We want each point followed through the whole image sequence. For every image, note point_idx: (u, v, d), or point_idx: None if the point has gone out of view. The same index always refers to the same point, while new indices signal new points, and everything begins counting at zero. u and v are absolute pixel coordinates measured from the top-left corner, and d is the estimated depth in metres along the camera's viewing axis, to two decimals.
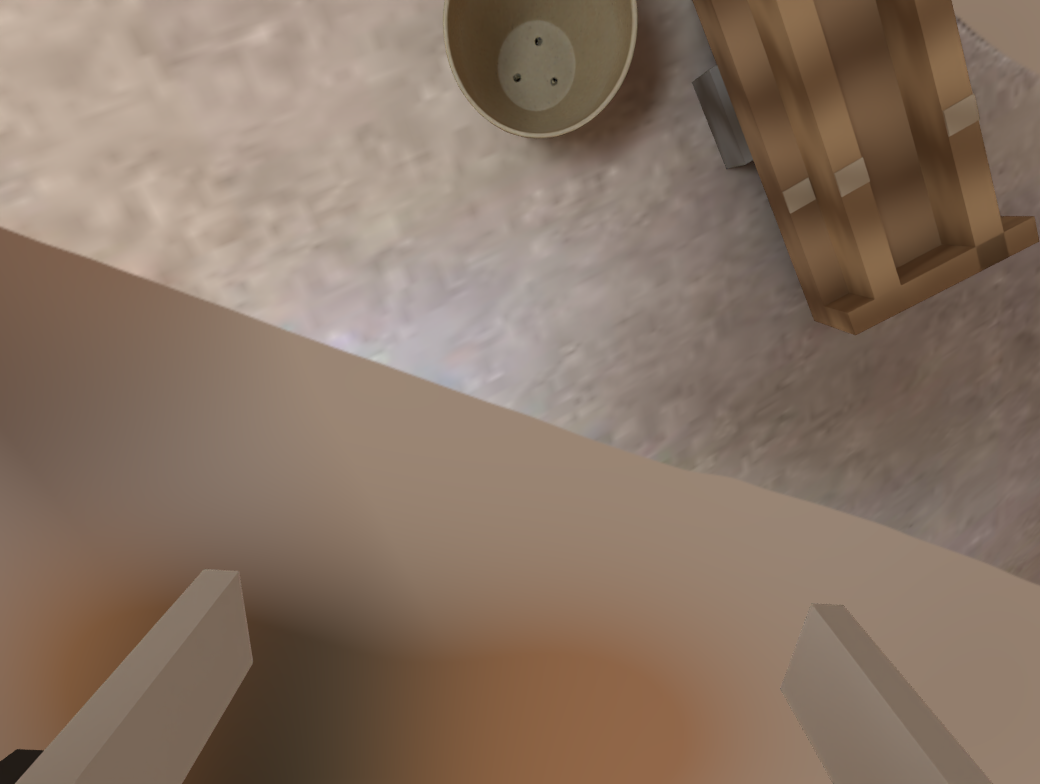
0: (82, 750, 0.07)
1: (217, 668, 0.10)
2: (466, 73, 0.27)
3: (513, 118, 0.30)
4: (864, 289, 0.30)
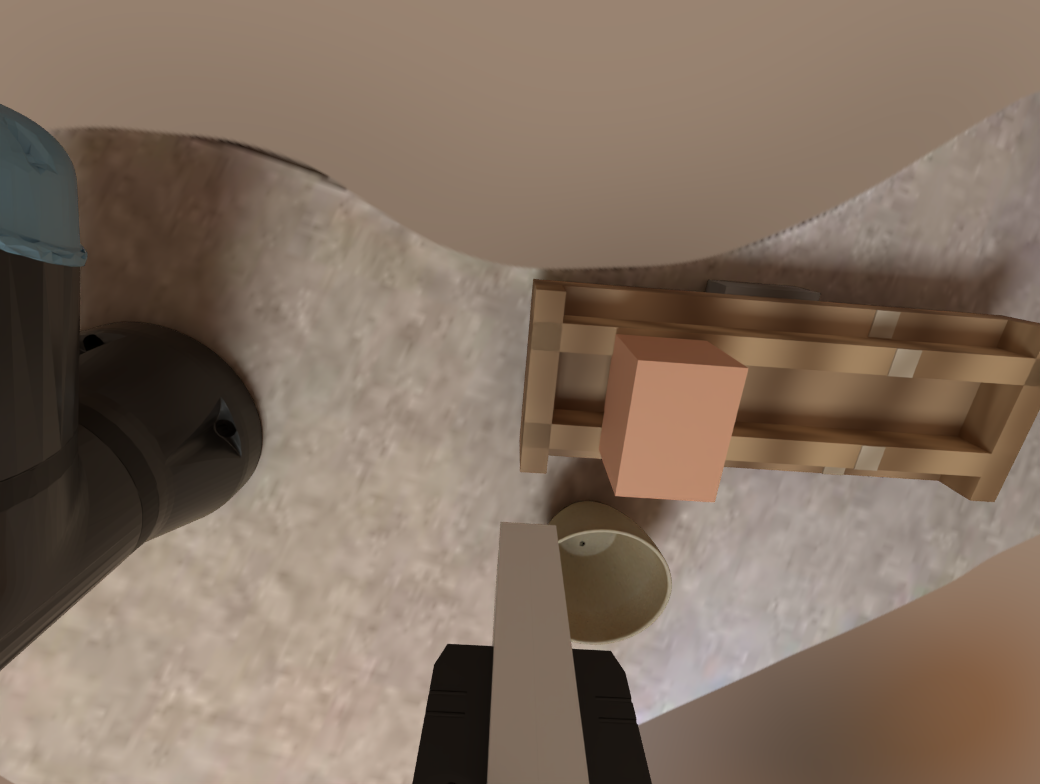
0: (520, 638, 0.09)
1: None
2: (574, 609, 0.37)
3: (610, 578, 0.38)
4: None
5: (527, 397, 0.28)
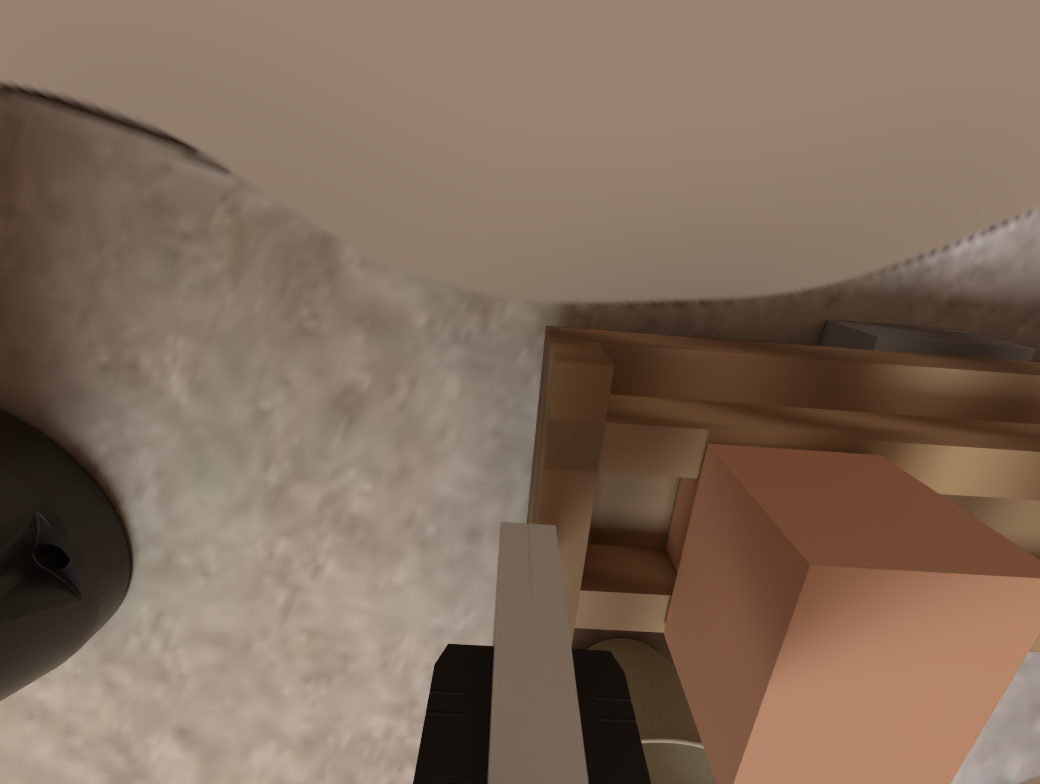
0: (520, 639, 0.09)
1: None
2: None
3: (656, 755, 0.26)
4: None
5: None
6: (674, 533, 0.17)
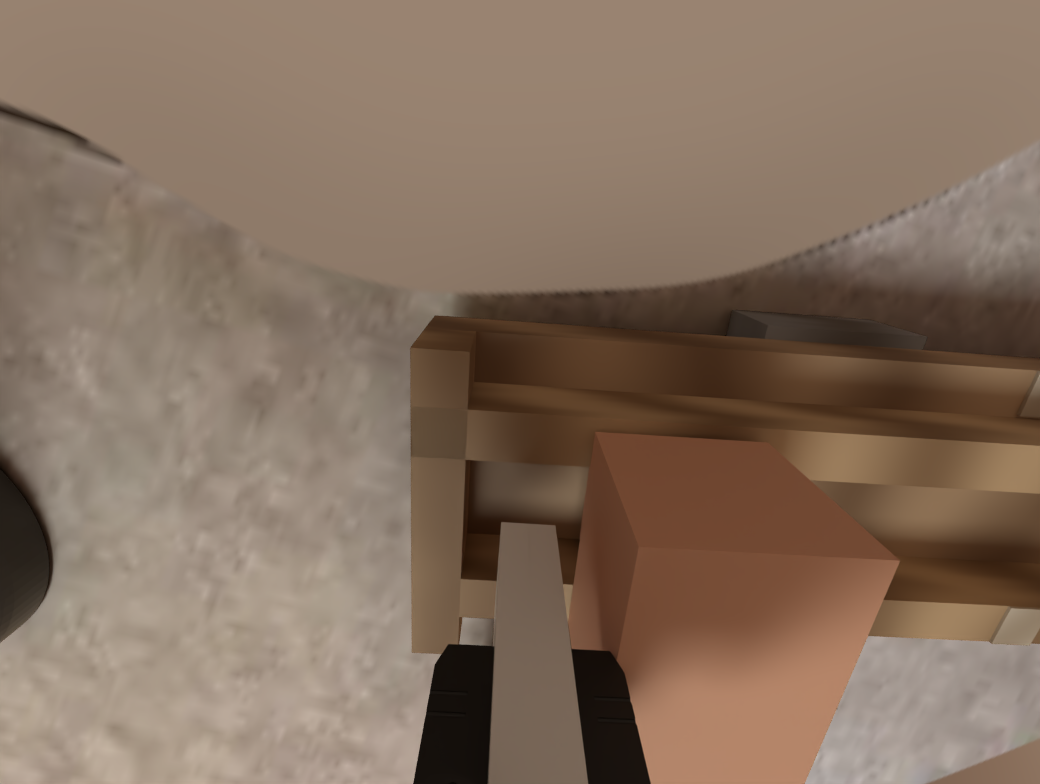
0: (520, 639, 0.09)
1: None
2: None
3: None
4: None
5: (413, 536, 0.15)
6: None
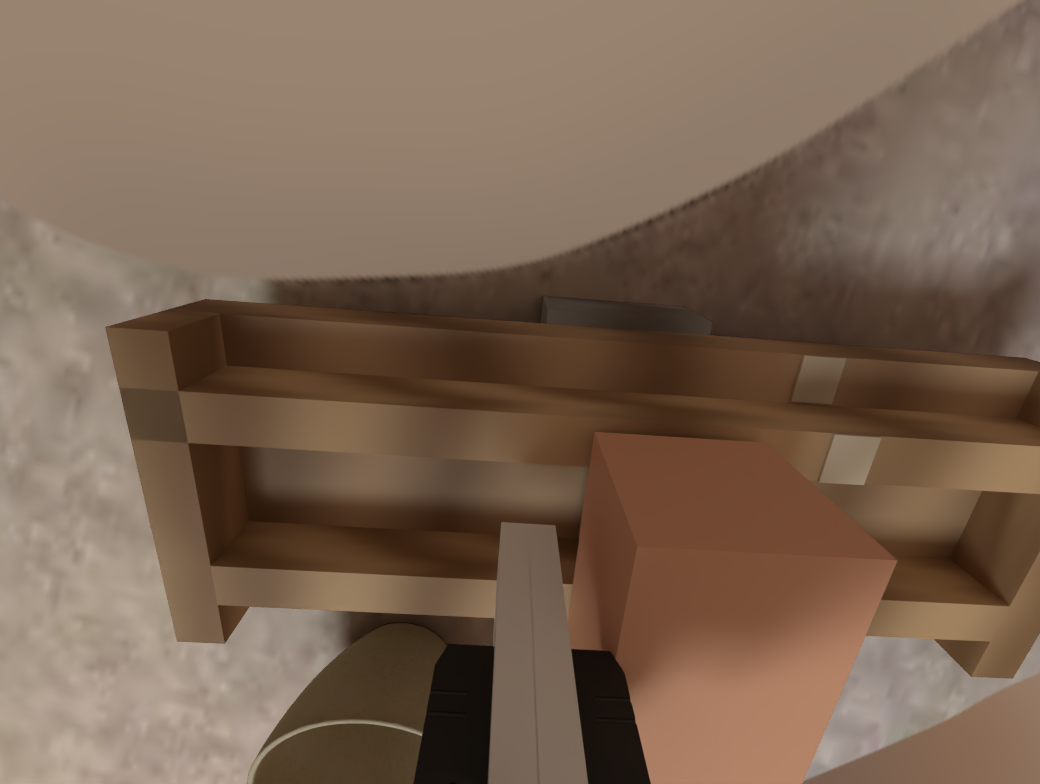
0: (520, 639, 0.09)
1: None
2: None
3: None
4: None
5: (153, 521, 0.15)
6: None
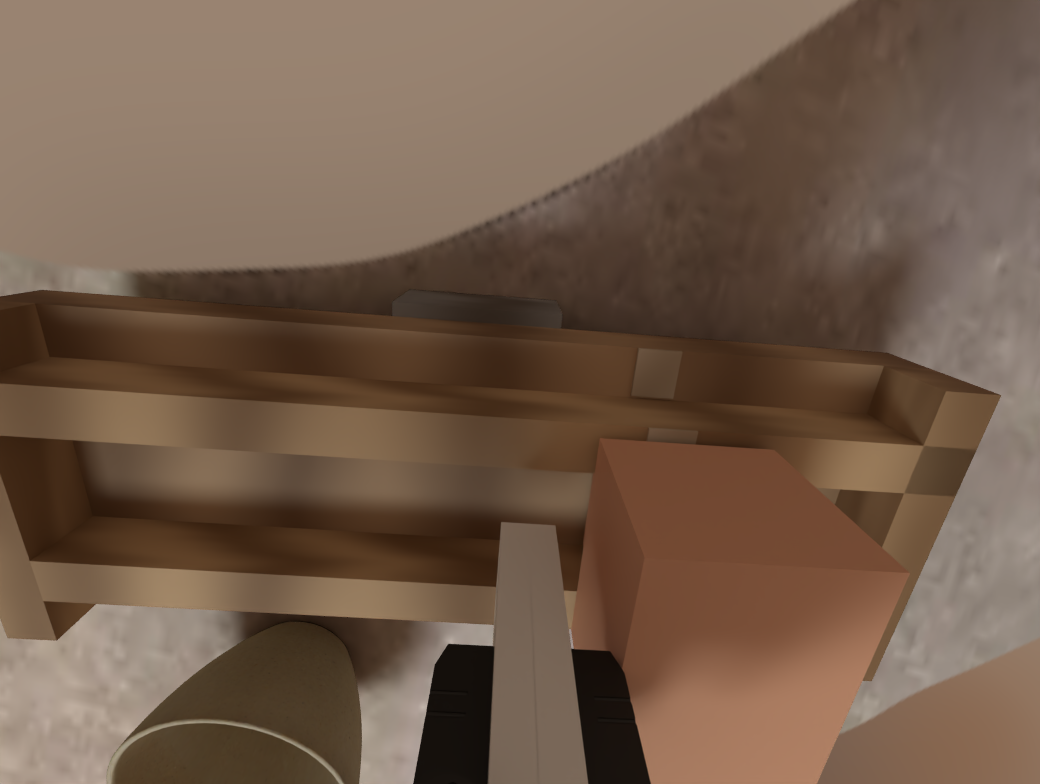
0: (520, 638, 0.09)
1: None
2: None
3: None
4: None
5: None
6: None
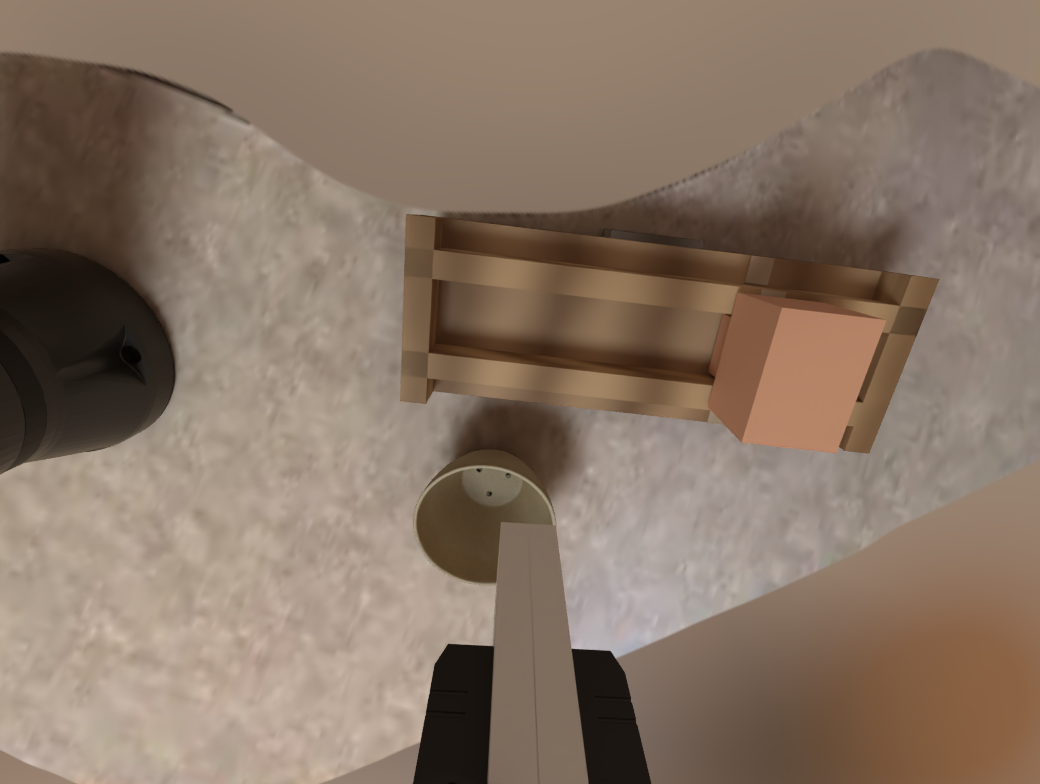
0: (520, 639, 0.09)
1: None
2: (470, 554, 0.37)
3: None
4: None
5: (403, 324, 0.28)
6: (714, 359, 0.30)
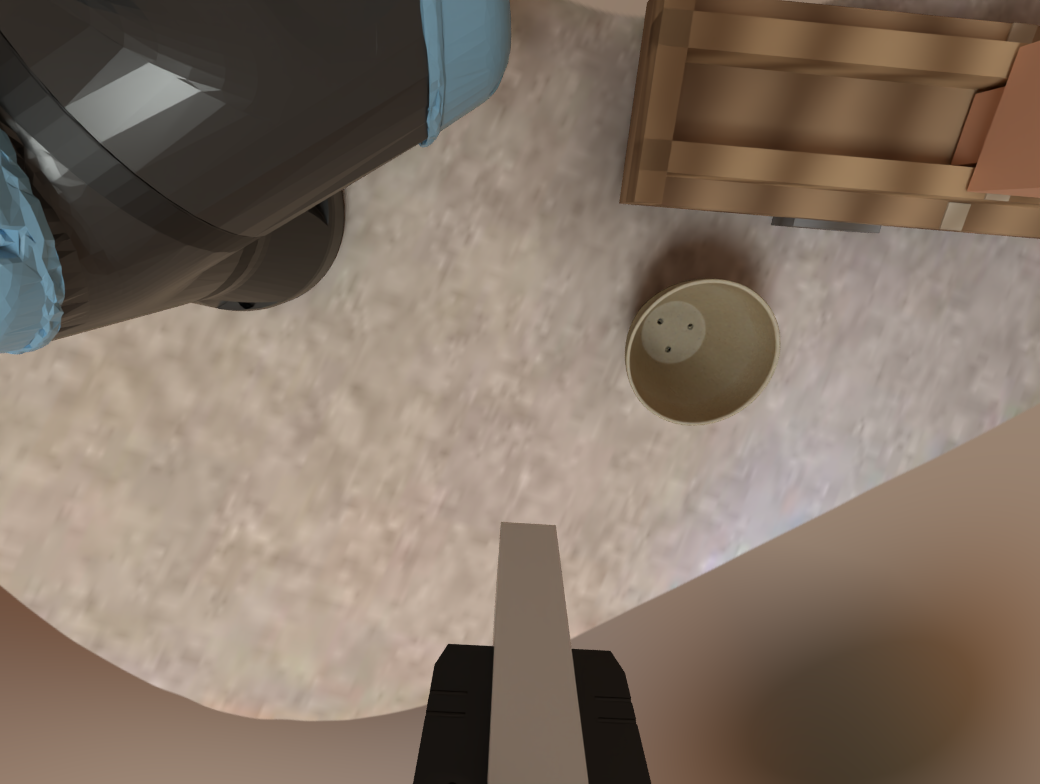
0: (520, 639, 0.09)
1: None
2: (666, 401, 0.35)
3: (700, 378, 0.37)
4: None
5: (649, 107, 0.26)
6: (962, 147, 0.28)
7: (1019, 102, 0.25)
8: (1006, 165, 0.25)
